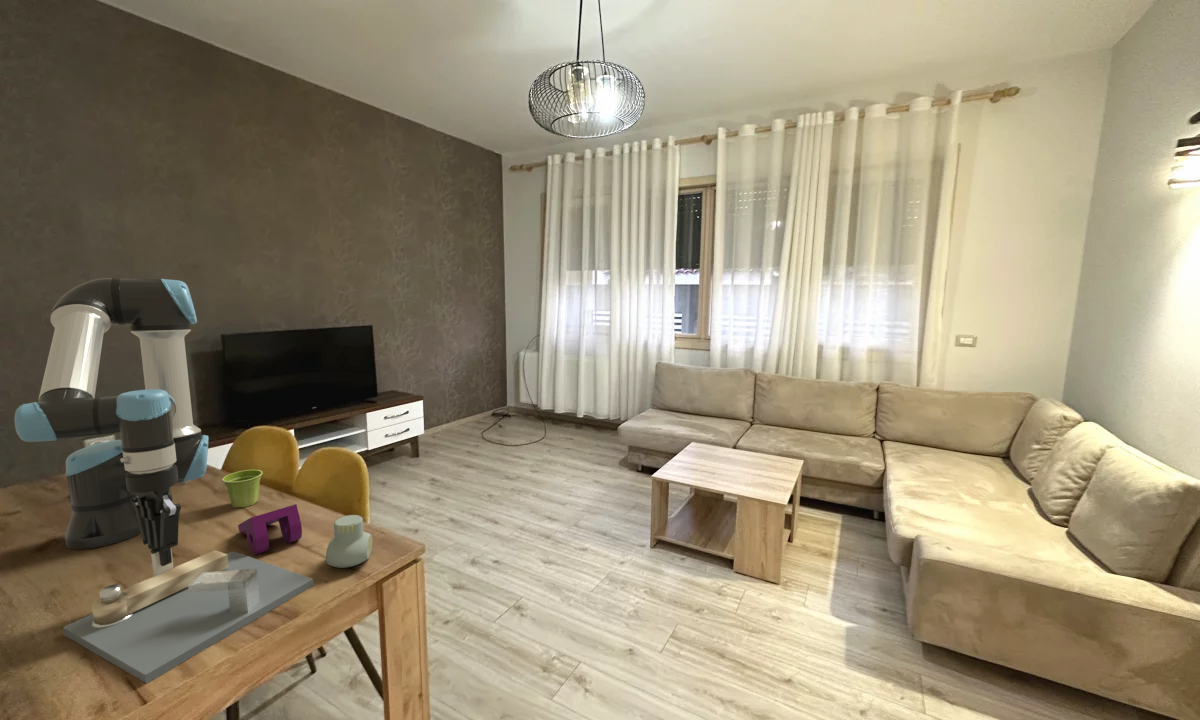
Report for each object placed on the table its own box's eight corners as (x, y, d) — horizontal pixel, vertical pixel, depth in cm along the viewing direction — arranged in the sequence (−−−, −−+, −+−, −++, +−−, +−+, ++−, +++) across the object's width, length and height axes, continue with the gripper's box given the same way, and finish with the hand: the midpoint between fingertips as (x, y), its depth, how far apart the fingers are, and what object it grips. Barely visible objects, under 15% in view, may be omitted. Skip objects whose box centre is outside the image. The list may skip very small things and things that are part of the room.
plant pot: (270, 501, 140) (268, 473, 139) (233, 513, 132) (230, 484, 131) (256, 494, 145) (254, 467, 144) (219, 505, 137) (216, 477, 136)
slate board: (63, 634, 85) (62, 627, 85) (233, 557, 111) (233, 551, 111) (146, 683, 75) (145, 674, 75) (313, 585, 100) (312, 578, 100)
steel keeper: (191, 617, 88) (187, 585, 87) (205, 603, 92) (202, 572, 91) (248, 612, 89) (245, 580, 89) (259, 599, 93) (256, 568, 92)
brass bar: (102, 627, 84) (100, 612, 84) (88, 619, 86) (86, 604, 86) (229, 567, 103) (228, 554, 103) (215, 562, 105) (214, 549, 105)
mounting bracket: (241, 560, 120) (259, 553, 109) (234, 527, 122) (250, 517, 110) (283, 545, 128) (304, 537, 116) (276, 514, 129) (296, 504, 118)
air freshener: (365, 571, 106) (363, 529, 105) (324, 576, 104) (321, 534, 102) (374, 546, 116) (372, 507, 115) (336, 551, 114) (334, 511, 113)
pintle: (85, 622, 86) (81, 593, 85) (125, 604, 91) (122, 576, 90) (101, 631, 84) (97, 601, 83) (141, 612, 89) (138, 583, 88)
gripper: (109, 469, 93) (123, 580, 96) (145, 479, 88) (159, 596, 91) (156, 457, 100) (168, 561, 103) (192, 466, 95) (204, 575, 98)
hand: (164, 577), depth 97 cm, fingers closed
